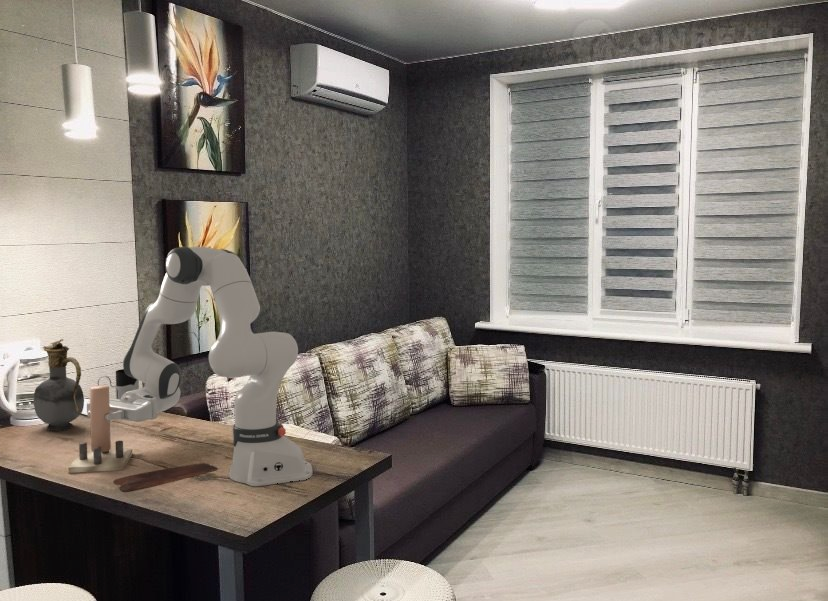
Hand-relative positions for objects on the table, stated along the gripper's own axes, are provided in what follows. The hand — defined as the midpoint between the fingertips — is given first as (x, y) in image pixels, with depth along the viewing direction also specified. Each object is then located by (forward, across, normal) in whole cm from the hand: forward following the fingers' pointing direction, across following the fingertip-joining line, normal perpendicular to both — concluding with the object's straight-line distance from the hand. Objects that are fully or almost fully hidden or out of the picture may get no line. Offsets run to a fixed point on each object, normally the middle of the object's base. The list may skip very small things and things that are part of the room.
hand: (97, 416), depth 194 cm
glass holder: (-44, -38, +14) cm, 60 cm away
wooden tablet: (-1, +24, +15) cm, 28 cm away
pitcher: (-20, -38, +14) cm, 45 cm away
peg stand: (-1, 0, +14) cm, 14 cm away
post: (-1, 0, +10) cm, 10 cm away
